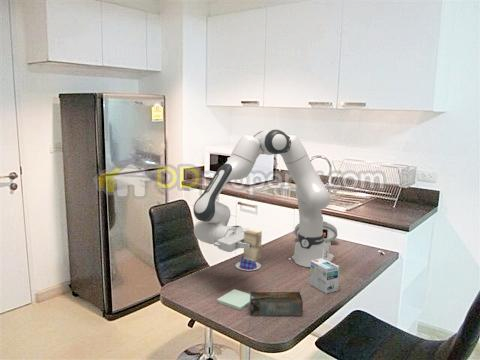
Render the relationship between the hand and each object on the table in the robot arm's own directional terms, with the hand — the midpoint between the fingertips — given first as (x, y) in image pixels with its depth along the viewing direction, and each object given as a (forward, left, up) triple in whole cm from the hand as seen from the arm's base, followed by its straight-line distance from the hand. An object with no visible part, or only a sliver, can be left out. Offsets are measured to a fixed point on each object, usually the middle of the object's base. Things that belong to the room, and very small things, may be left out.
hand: (254, 244), depth 160 cm
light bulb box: (-20, +21, -20) cm, 36 cm away
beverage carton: (+8, +15, -21) cm, 27 cm away
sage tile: (+11, -1, -20) cm, 23 cm away
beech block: (0, -1, -6) cm, 6 cm away
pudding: (-20, -17, -21) cm, 33 cm away
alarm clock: (-70, -6, -20) cm, 73 cm away
